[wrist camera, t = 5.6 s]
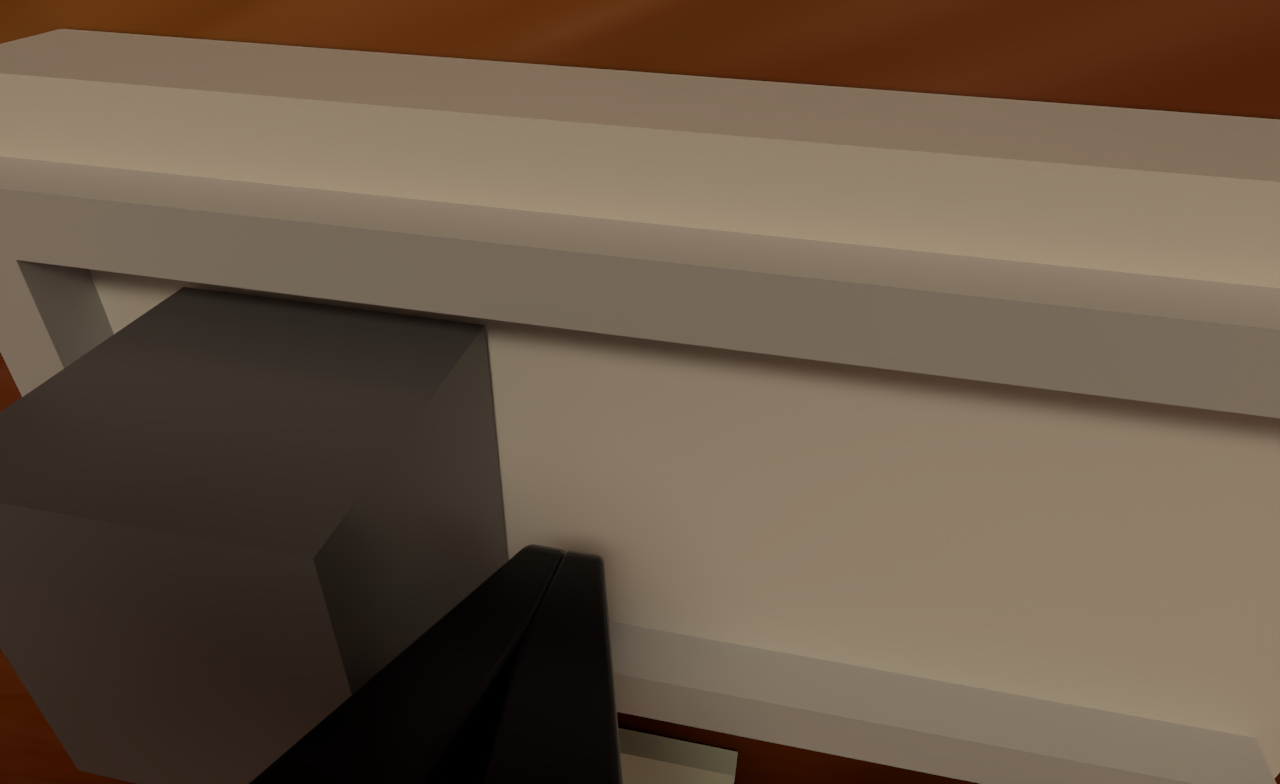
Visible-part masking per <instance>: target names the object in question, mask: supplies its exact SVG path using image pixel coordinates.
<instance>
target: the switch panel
mask: <svg viewBox="0 0 1280 784" xmlns="http://www.w3.org/2000/svg"><path fill="white" fill-rule="evenodd" d="M182 287H189V288H197V289H205V290H213V291H221V292H229V293H237V294H244V295H252V296H260V297H268V298H276V299H284V300H292V301H300V302H308V303H315V304H323V305H331V306H339V307H347V308H355V309H363V310H371V311H379V312H387V313H394V314H402V315H410V316H418V317H426V318H434V319H442V320H450V321H458V322H466V323H473V324H481V325H485V333H486V343H487V353H488V364H489V374H490V385H491V395H492V406H493V416H494V426H495V437H496V447H497V458H498V468H499V479H500V489H501V499H502V510H503V520H504V531H505V541H506V552H507V561H508V560H510V559H511V558H512V557H513V556H514V555H515V554H516V553H518V552H519V551H520V550H521V549H522V548H524V547H525V546H528V545H531V544H536V545H542V546H548V547H554V548H560V549H563V550H564V551H566V552H567V551H570V550H572V551H578V552H584V553H590V554H596V555H600V556H601V557H602V558H603V559H604V565H605V576H606V588H607V600H608V612H609V624H610V636H611V648H612V659H613V671H614V683H615V695H616V707H617V712H621V713H626V714H631V715H636V716H641V717H646V718H651V719H656V720H661V721H666V722H671V723H676V724H681V725H686V726H692V727H697V728H702V729H707V730H712V731H717V732H722V733H727V734H732V735H737V736H742V737H747V738H752V739H757V740H762V741H767V742H772V743H778V744H783V745H788V746H793V747H798V748H803V749H808V750H813V751H818V752H823V753H828V754H833V755H838V756H843V757H848V758H853V759H858V760H864V761H869V762H874V763H879V764H884V765H889V766H894V767H899V768H904V769H909V770H914V771H919V772H924V773H929V774H934V775H939V776H944V777H950V778H955V779H960V780H965V781H970V782H975V783H980V784H1276V782H1275V780H1274V779H1275V777H1276V776H1277V775H1278V774H1279V772H1280V120H1278V119H1265V118H1251V117H1238V116H1225V115H1211V114H1198V113H1184V112H1171V111H1157V110H1144V109H1131V108H1117V107H1104V106H1090V105H1077V104H1063V103H1050V102H1037V101H1023V100H1010V99H996V98H983V97H970V96H956V95H943V94H929V93H916V92H902V91H889V90H876V89H862V88H849V87H835V86H822V85H809V84H795V83H782V82H768V81H755V80H741V79H728V78H715V77H701V76H688V75H674V74H661V73H647V72H634V71H621V70H607V69H594V68H580V67H567V66H554V65H540V64H527V63H513V62H500V61H486V60H473V59H460V58H446V57H433V56H419V55H406V54H392V53H379V52H366V51H352V50H339V49H325V48H312V47H299V46H285V45H272V44H258V43H245V42H231V41H218V40H205V39H191V38H178V37H164V36H151V35H138V34H124V33H111V32H97V31H84V30H70V29H59V30H55V31H51V32H47V33H43V34H39V35H35V36H31V37H27V38H23V39H19V40H15V41H10V42H6V43H2V44H0V352H1V354H2V356H3V358H4V360H5V362H6V364H7V366H8V368H9V371H10V373H11V375H12V377H13V379H14V381H15V383H16V385H17V387H18V389H19V391H20V393H21V395H22V397H23V396H25V395H26V394H28V393H29V392H31V391H32V390H34V389H35V388H36V387H38V386H39V385H41V384H42V383H44V382H45V381H47V380H48V379H50V378H51V377H53V376H54V375H55V374H57V373H58V372H60V371H61V370H63V369H64V368H66V367H67V366H69V365H70V364H71V363H73V362H74V361H76V360H77V359H79V358H80V357H82V356H83V355H85V354H86V353H88V352H89V351H90V350H92V349H93V348H95V347H96V346H98V345H99V344H101V343H102V342H104V341H105V340H107V339H108V338H109V337H111V336H112V335H114V334H115V333H117V332H118V331H120V330H121V329H123V328H124V327H126V326H127V325H128V324H130V323H131V322H133V321H134V320H136V319H137V318H139V317H140V316H142V315H143V314H145V313H146V312H147V311H149V310H150V309H152V308H153V307H155V306H156V305H158V304H159V303H161V302H162V301H164V300H165V299H166V298H168V297H169V296H171V295H172V294H174V293H175V292H177V291H178V290H180V289H181V288H182Z"/></svg>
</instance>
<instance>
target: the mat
mask: <svg viewBox="0 0 1280 784" xmlns="http://www.w3.org/2000/svg"><path fill="white" fill-rule="evenodd" d="M618 731H619V743H620V755H621V767H622V779H623V784H734V780H735V772H736V764H737V755H738V752H736V751H731V750H726V749H721V748H716V747H711V746H706V745H701V744H696V743H691V742H686V741H681V740H676V739H671V738H666V737H661V736H656V735H651V734H646V733H641V732H636V731H631V730H626V729H621V728H618Z"/></svg>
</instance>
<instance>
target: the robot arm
mask: <svg viewBox="0 0 1280 784" xmlns="http://www.w3.org/2000/svg"><path fill="white" fill-rule="evenodd" d="M249 784H623V779H622V767H621V755H620V743H619V731H618V719H617V707H616V695H615V683H614V671H613V659H612V648H611V636H610V624H609V612H608V600H607V588H606V576H605V565H604V559H603V558H602V557H601V556H600V555H596V554H590V553H584V552H578V551H572V550H570V551H567V552H566V551H564V550H563V549H560V548H554V547H548V546H542V545H536V544H531V545H528V546H525V547H524V548H522V549H521V550H520V551H519V552H518V553H516V554H515V555H514V556H513V557H512V558H511V559H510V560H508V561H507V562H506V563H505V564H504V565H503V566H501V567H500V568H499V569H498V570H497V571H496V572H494V573H493V574H492V575H491V576H490V577H489V578H487V579H486V580H485V581H484V582H483V583H482V584H480V585H479V586H478V587H477V588H476V589H475V590H473V591H472V592H471V593H470V594H469V595H468V596H466V597H465V598H464V599H463V600H462V601H461V602H459V603H458V604H457V605H456V606H455V607H454V608H452V609H451V610H450V611H449V612H448V613H447V614H445V615H444V616H443V617H442V618H441V619H440V620H439V621H437V622H436V623H435V624H434V625H433V626H432V627H430V628H429V629H428V630H427V631H426V632H425V633H423V634H422V635H421V636H420V637H419V638H418V639H416V640H415V641H414V642H413V643H412V644H411V645H409V646H408V647H407V648H406V649H405V650H404V651H402V652H401V653H400V654H399V655H398V656H397V657H395V658H394V659H393V660H392V661H391V662H390V663H388V664H387V665H386V666H385V667H384V668H383V669H381V670H380V671H379V672H378V673H377V674H376V675H374V676H373V677H372V678H371V679H370V680H369V681H368V682H366V683H365V684H364V685H363V686H362V687H361V688H359V689H358V690H357V691H356V692H355V693H354V694H352V695H351V696H350V697H349V698H348V699H347V700H345V701H344V702H343V703H342V704H341V705H340V706H338V707H337V708H336V709H335V710H334V711H333V712H331V713H330V714H329V715H328V716H327V717H326V718H324V719H323V720H322V721H321V722H320V723H319V724H317V725H316V726H315V727H314V728H313V729H312V730H310V731H309V732H308V733H307V734H306V735H305V736H303V737H302V738H301V739H300V740H299V741H298V742H297V743H295V744H294V745H293V746H292V747H291V748H290V749H288V750H287V751H286V752H285V753H284V754H283V755H281V756H280V757H279V758H278V759H277V760H276V761H274V762H273V763H272V764H271V765H270V766H269V767H267V768H266V769H265V770H264V771H263V772H262V773H260V774H259V775H258V776H257V777H256V778H255V779H253V780H252V781H251V782H250V783H249Z"/></svg>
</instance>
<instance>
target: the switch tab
mask: <svg viewBox="0 0 1280 784" xmlns="http://www.w3.org/2000/svg"><path fill="white" fill-rule="evenodd" d="M506 562H507V552H506V541H505V531H504V520H503V510H502V499H501V489H500V479H499V468H498V458H497V447H496V437H495V426H494V416H493V406H492V395H491V385H490V374H489V364H488V353H487V343H486V333H485V325H481V324H473V323H466V322H458V321H450V320H442V319H434V318H426V317H418V316H410V315H402V314H394V313H387V312H379V311H371V310H363V309H355V308H347V307H339V306H331V305H323V304H315V303H308V302H300V301H292V300H284V299H276V298H268V297H260V296H252V295H244V294H237V293H229V292H221V291H213V290H205V289H197V288H189V287H182V288H181V289H180V290H178V291H177V292H175V293H174V294H172V295H171V296H169V297H168V298H166V299H165V300H164V301H162V302H161V303H159V304H158V305H156V306H155V307H153V308H152V309H150V310H149V311H147V312H146V313H145V314H143V315H142V316H140V317H139V318H137V319H136V320H134V321H133V322H131V323H130V324H128V325H127V326H126V327H124V328H123V329H121V330H120V331H118V332H117V333H115V334H114V335H112V336H111V337H109V338H108V339H107V340H105V341H104V342H102V343H101V344H99V345H98V346H96V347H95V348H93V349H92V350H90V351H89V352H88V353H86V354H85V355H83V356H82V357H80V358H79V359H77V360H76V361H74V362H73V363H71V364H70V365H69V366H67V367H66V368H64V369H63V370H61V371H60V372H58V373H57V374H55V375H54V376H53V377H51V378H50V379H48V380H47V381H45V382H44V383H42V384H41V385H39V386H38V387H36V388H35V389H34V390H32V391H31V392H29V393H28V394H26V395H25V396H23V397H22V398H20V399H19V400H17V401H16V402H15V403H13V404H12V405H10V406H9V407H7V408H6V409H4V410H3V411H1V412H0V649H1V650H2V652H3V653H4V655H5V656H6V658H7V659H8V661H9V663H10V664H11V666H12V667H13V669H14V670H15V672H16V673H17V675H18V677H19V678H20V680H21V681H22V683H23V684H24V686H25V688H26V689H27V691H28V692H29V694H30V695H31V697H32V698H33V700H34V702H35V703H36V705H37V706H38V708H39V709H40V711H41V712H42V714H43V716H44V717H45V719H46V720H47V722H48V723H49V725H50V727H51V728H52V730H53V731H54V733H55V734H56V736H57V737H58V739H59V741H60V742H61V744H62V745H63V747H64V748H65V750H66V752H67V753H68V755H69V756H70V758H71V759H72V761H73V762H74V764H75V766H76V767H77V769H78V770H80V771H84V772H89V773H93V774H97V775H101V776H106V777H110V778H114V779H119V780H123V781H127V782H131V783H136V784H249V783H250V782H251V781H252V780H253V779H255V778H256V777H257V776H258V775H259V774H260V773H262V772H263V771H264V770H265V769H266V768H267V767H269V766H270V765H271V764H272V763H273V762H274V761H276V760H277V759H278V758H279V757H280V756H281V755H283V754H284V753H285V752H286V751H287V750H288V749H290V748H291V747H292V746H293V745H294V744H295V743H297V742H298V741H299V740H300V739H301V738H302V737H303V736H305V735H306V734H307V733H308V732H309V731H310V730H312V729H313V728H314V727H315V726H316V725H317V724H319V723H320V722H321V721H322V720H323V719H324V718H326V717H327V716H328V715H329V714H330V713H331V712H333V711H334V710H335V709H336V708H337V707H338V706H340V705H341V704H342V703H343V702H344V701H345V700H347V699H348V698H349V697H350V696H351V695H352V694H354V693H355V692H356V691H357V690H358V689H359V688H361V687H362V686H363V685H364V684H365V683H366V682H368V681H369V680H370V679H371V678H372V677H373V676H374V675H376V674H377V673H378V672H379V671H380V670H381V669H383V668H384V667H385V666H386V665H387V664H388V663H390V662H391V661H392V660H393V659H394V658H395V657H397V656H398V655H399V654H400V653H401V652H402V651H404V650H405V649H406V648H407V647H408V646H409V645H411V644H412V643H413V642H414V641H415V640H416V639H418V638H419V637H420V636H421V635H422V634H423V633H425V632H426V631H427V630H428V629H429V628H430V627H432V626H433V625H434V624H435V623H436V622H437V621H439V620H440V619H441V618H442V617H443V616H444V615H445V614H447V613H448V612H449V611H450V610H451V609H452V608H454V607H455V606H456V605H457V604H458V603H459V602H461V601H462V600H463V599H464V598H465V597H466V596H468V595H469V594H470V593H471V592H472V591H473V590H475V589H476V588H477V587H478V586H479V585H480V584H482V583H483V582H484V581H485V580H486V579H487V578H489V577H490V576H491V575H492V574H493V573H494V572H496V571H497V570H498V569H499V568H500V567H501V566H503V565H504V564H505V563H506Z"/></svg>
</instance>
